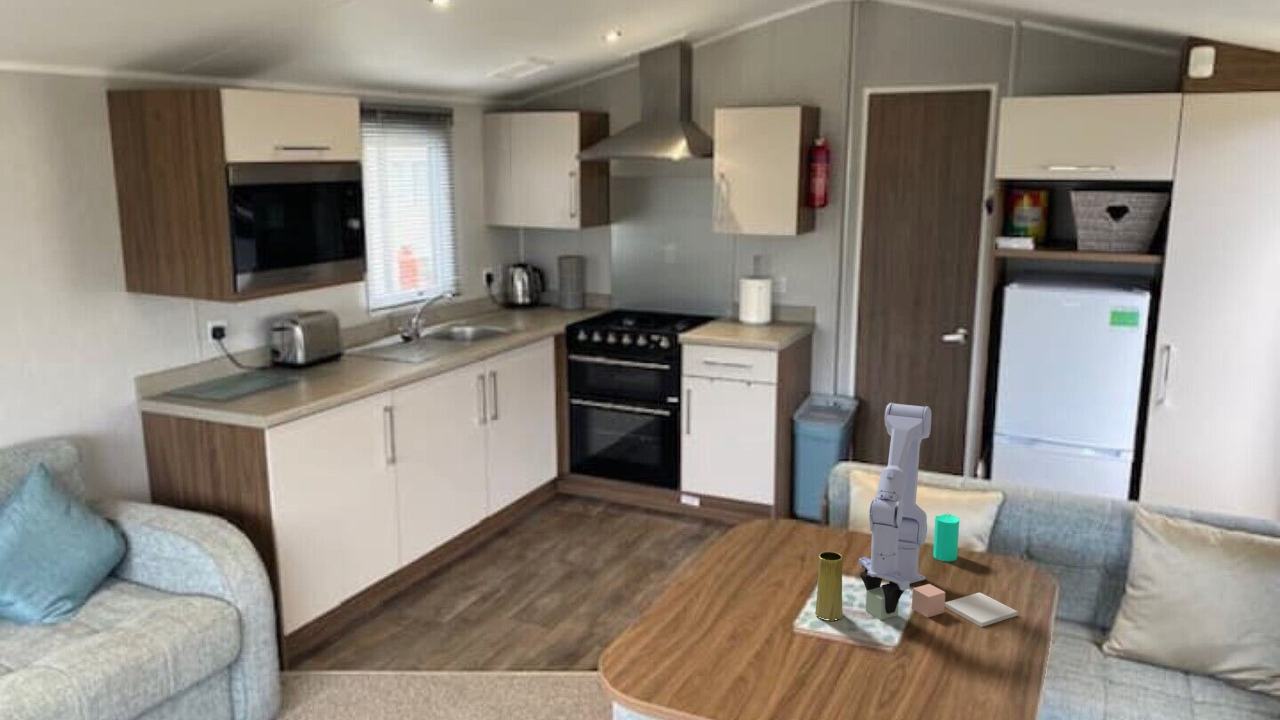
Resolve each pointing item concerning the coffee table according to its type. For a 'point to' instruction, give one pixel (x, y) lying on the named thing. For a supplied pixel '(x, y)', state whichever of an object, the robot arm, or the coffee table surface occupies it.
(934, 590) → the brick top
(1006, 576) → the coffee table surface
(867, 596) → the brick bottom
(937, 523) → the candle
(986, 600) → the base plate
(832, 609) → the vase
